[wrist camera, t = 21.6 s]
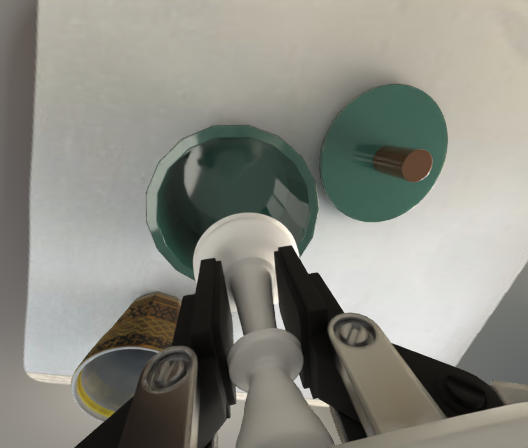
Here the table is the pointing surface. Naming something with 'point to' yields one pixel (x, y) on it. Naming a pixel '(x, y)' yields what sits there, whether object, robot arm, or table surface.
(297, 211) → the pot
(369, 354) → the robot arm
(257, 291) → the chess piece
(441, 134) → the lid
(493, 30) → the table surface
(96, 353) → the ceramic cup
